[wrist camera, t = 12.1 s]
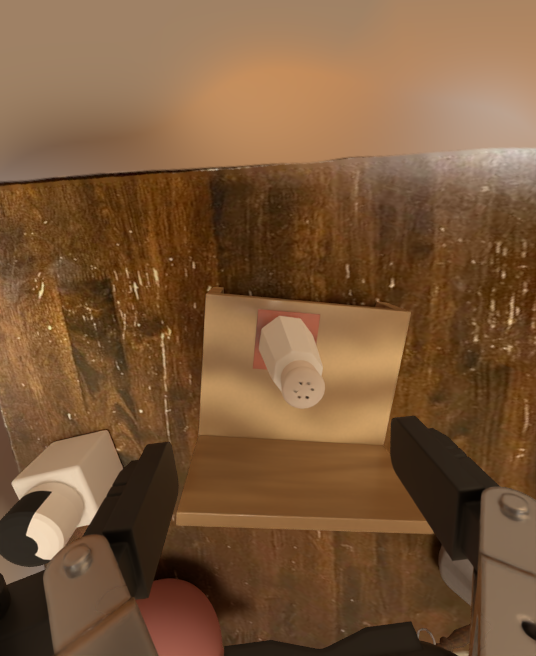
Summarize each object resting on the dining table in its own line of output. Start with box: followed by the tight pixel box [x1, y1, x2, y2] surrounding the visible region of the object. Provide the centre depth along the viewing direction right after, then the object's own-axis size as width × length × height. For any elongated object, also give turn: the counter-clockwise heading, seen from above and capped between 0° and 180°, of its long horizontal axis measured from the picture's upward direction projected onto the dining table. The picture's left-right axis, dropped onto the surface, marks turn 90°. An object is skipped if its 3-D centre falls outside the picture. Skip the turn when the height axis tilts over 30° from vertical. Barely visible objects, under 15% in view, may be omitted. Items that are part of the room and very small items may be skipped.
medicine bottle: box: [0, 430, 123, 567], centre depth 33 cm, size 7×7×12 cm
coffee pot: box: [417, 546, 473, 652], centre depth 38 cm, size 21×12×15 cm, turn 73°
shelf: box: [176, 287, 433, 534], centre depth 30 cm, size 16×20×16 cm
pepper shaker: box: [259, 316, 325, 409], centre depth 25 cm, size 5×5×11 cm
